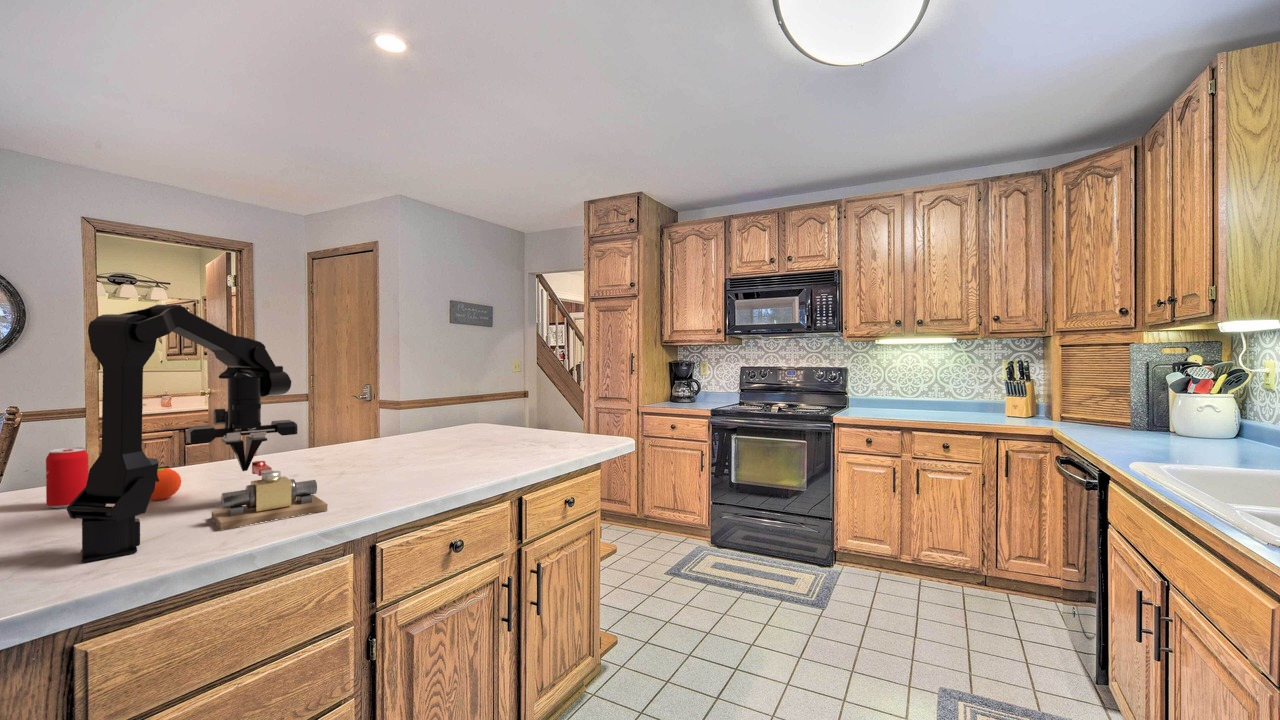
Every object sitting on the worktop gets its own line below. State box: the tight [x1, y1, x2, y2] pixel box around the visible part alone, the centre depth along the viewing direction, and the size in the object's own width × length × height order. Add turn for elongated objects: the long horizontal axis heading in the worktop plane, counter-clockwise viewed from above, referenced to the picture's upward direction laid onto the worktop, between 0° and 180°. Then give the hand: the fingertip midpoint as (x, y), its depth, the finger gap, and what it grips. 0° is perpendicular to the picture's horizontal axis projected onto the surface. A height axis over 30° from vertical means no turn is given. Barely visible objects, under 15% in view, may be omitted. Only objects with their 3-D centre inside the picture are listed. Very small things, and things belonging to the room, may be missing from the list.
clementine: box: [150, 467, 182, 501], centre depth 120 cm, size 8×7×7 cm
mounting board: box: [211, 494, 328, 531], centre depth 111 cm, size 18×10×2 cm, turn 136°
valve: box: [220, 476, 318, 517], centre depth 111 cm, size 16×5×6 cm, turn 136°
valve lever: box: [251, 460, 282, 481], centre depth 115 cm, size 14×3×2 cm, turn 46°
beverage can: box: [45, 446, 89, 509], centre depth 115 cm, size 6×6×12 cm
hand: (244, 470), depth 117 cm, fingers closed
